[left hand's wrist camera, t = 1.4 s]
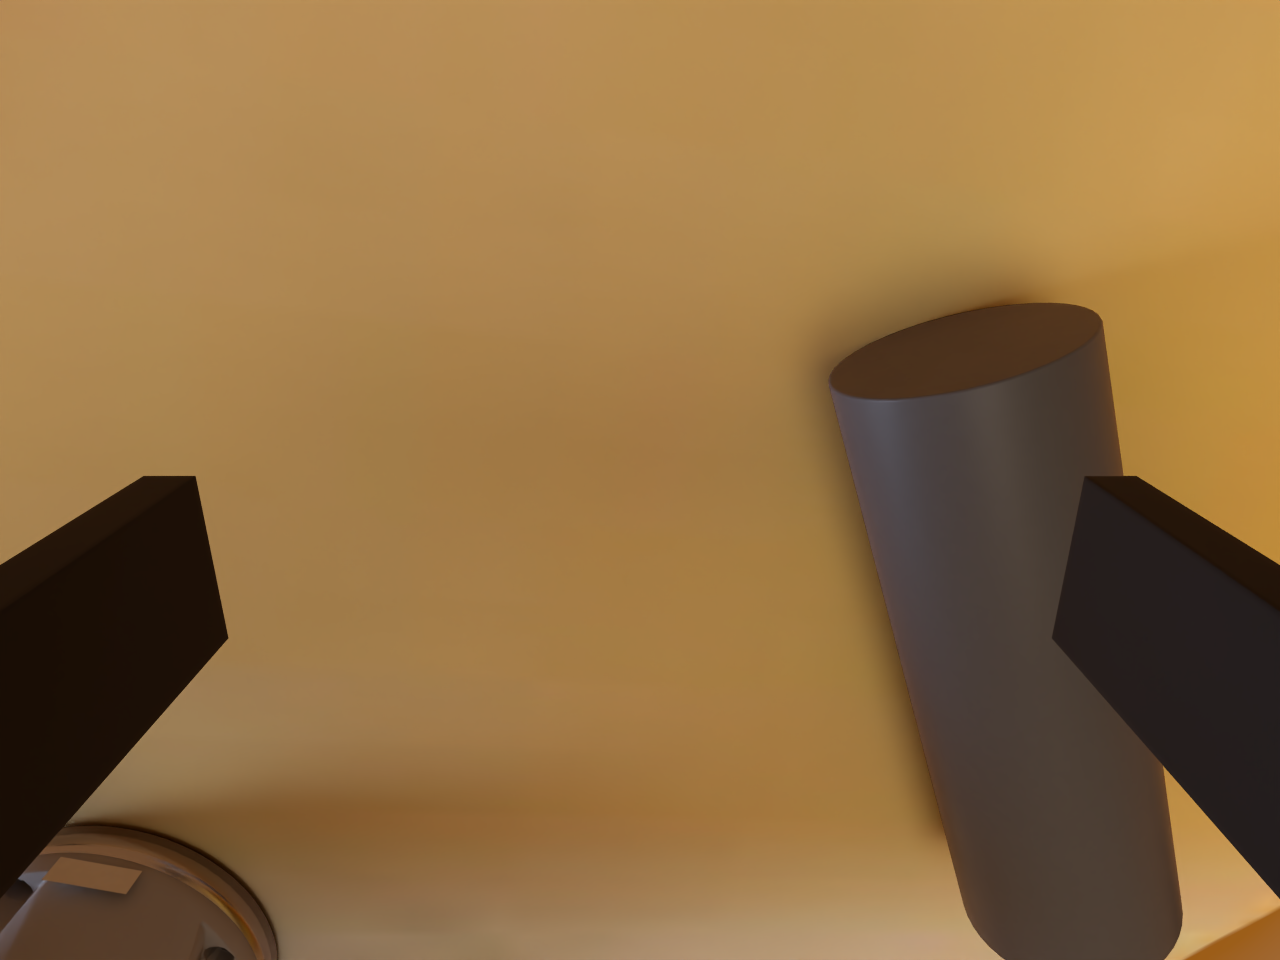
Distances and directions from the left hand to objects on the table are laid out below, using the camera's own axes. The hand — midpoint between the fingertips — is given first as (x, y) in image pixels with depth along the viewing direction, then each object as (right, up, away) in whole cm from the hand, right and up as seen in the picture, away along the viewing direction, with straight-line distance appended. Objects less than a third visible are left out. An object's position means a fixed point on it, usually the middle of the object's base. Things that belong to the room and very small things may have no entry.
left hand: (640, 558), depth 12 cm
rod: (+14, -4, +23) cm, 27 cm away
